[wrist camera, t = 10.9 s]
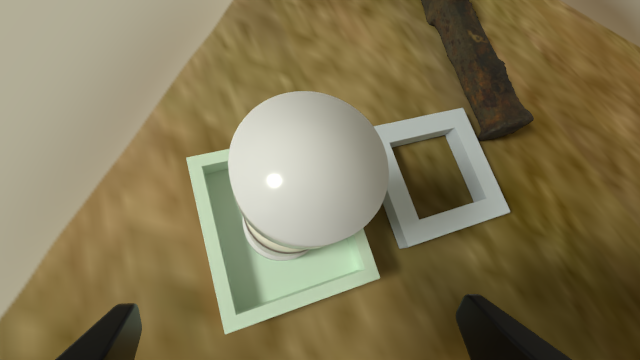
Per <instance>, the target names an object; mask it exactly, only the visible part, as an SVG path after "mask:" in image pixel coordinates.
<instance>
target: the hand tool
mask: <svg viewBox="0 0 640 360" xmlns="http://www.w3.org/2000/svg"><path fill="white" fill-rule="evenodd" d="M421 1H422V5H423V7H424V11H425V15H426V19H427V22H428V24H429V25H432V26H435V27H436V29H437V30H438V32H439V34H440V36H441V39H442V42H443V45H444V47H445V49H446V52H447V56H448V57H449V59H450V60H451V62H452V64H453V66H454V68H455V71H456V73H457V75H458V78H459V80H460V83H461V86H462V88H463V90H464V93H465V95H466V97H467V99H468V100H469V102H470V105H471V107H472V109H473V112H474V114H475V116H476V118H477V119H478V122H479V125H480V127H481V133H480V135H479V137H478V140H479V141H483V140H488V139H494V138H498V137H501V136H505V135H507V134H510V133H514V132H515V131H517V130H518V129H520V128H522V127H523V126H525V125H527V124H529V123H530V122H531V121H533V119H534V118H533V116H532V114H531V113H530V112H529V111H528V110H526V109H525V108H524V107H523V105H522V104H521V103H520V102H519V99H518V98H517V96H516V94H515V91H514V89H513V87H512V84H511V82H510V81H509V79H508V75H507V73H506V67H505V66H504V64H505V63H504V62H503V61H501V60H500V59H498V57H497V55H496V53H495V51H494V50H493V48H492V46H491V44H490V42H489V40H488V38H487V36H486V34H485V32H484V30H483V28H482V26H481V24H480V22H479V20H478V17H477V16H476V12H475V11H474V9H473V8H472V3H469V0H421Z"/></svg>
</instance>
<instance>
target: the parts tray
mask: <svg viewBox="0 0 640 360" xmlns="http://www.w3.org/2000/svg"><path fill="white" fill-rule="evenodd" d="M229 150H230V149H226V150H221V151H217V152H212V153H207V154H202V155H197V156H192V157H187V158H186V159H187V164H188V168H189V173H190V177H191V182H192V187H193V191H194V196H195V200H196V205H197V209H198V214H199V218H200V223H201V228H202V232H203V237H204V241H205V246H206V250H207V255H208V259H209V264H210V269H211V273H212V278H213V282H214V287H215V291H216V296H217V300H218V305H219V310H220V314H221V319H222V323H223V328H224V332H225V334H228V333H231V332H233V331H236V330H239V329H242V328H244V327H247V326H250V325H253V324H255V323H258V322H261V321H264V320H266V319H269V318H272V317H275V316H277V315H280V314H283V313H286V312H288V311H291V310H294V309H297V308H299V307H302V306H305V305H308V304H310V303H313V302H316V301H319V300H321V299H324V298H327V297H330V296H332V295H335V294H338V293H341V292H343V291H346V290H349V289H352V288H354V287H357V286H360V285H363V284H365V283H368V282H371V281H374V280H376V279H379V278H380V276H379V273H378V270H377V267H376V264H375V261H374V258H373V255H372V252H371V249H370V246H369V243H368V241H367V238H366V235H365V232H364V229H363V228H362V229H361V230H360V231H358V232H357V233H355V234H353V235H352V236H350V237H348V238H345V239H343V240H341V241H338V242H336V243H333V244H331V245H328V246H324V247H321V248H316V249H310V250H309V251H308V252H306V253H305V254H303V255H301V256H299V257H297V258H294V259H291V260H287V261H274V260H270V259H267V258H265V257H263V256H261V255H259V254H258V253H257V252H256V251H255V250H254V249H253V248H252V247H251V246H250V244H249V243H248V241H247V239H246V236H245V233H244V229H243V215H242V213H241V211H240V210H239V208H238V205H237V203H236V200H235V197H234V193H233V189H232V186H231V181H230V177H229V169H228V158H229Z"/></svg>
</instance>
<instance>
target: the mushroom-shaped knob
mask: <svg viewBox="0 0 640 360" xmlns="http://www.w3.org/2000/svg"><path fill="white" fill-rule="evenodd" d="M228 169H229V177H230V181H231V186H232V189H233V193H234V197H235V200H236V203H237V205H238V208H239V210H240V211H241V213H242V215H243V229H244V233H245V236H246V239H247V241H248V243H249V244H250V246H251V247H252V248H253V249H254V250H255V251H256V252H257V253H258V254H259V255H261V256H263V257H265V258H267V259H270V260H274V261H287V260H291V259H294V258H297V257H299V256H301V255H303V254H305V253H306V252H308V251H309V250H310V249H316V248H321V247H324V246H328V245H331V244H333V243H336V242H338V241H341V240H343V239H345V238H348V237H350V236H352V235H353V234H355V233H357V232H358V231H360V230H361V229H362V228H363V227H364V226H366V225H367V224H368V223H369V222H370V221H371V219H372V218H373V217H374V216H375V214H376V213H377V211H378V210H379V208H380V207H381V204H382V202H383V200H384V198H385V194H386V191H387V187H388V181H389V166H388V159H387V154H386V151H385V148H384V145H383V142H382V140H381V138H380V136H379V134H378V133H377V131H376V130H375V128H374V127H373V125H372V124H371V123H370V122H369V121H368V119H367V118H366V117H365V116H364V115H363V114H361V113H360V112H359V111H358V110H357V109H355V108H354V107H353V106H351V105H349V104H348V103H346V102H344V101H342V100H340V99H338V98H336V97H333V96H330V95H327V94H323V93H318V92H310V91H296V92H289V93H285V94H281V95H277V96H275V97H272V98H270V99H268V100H266V101H264V102H263V103H261V104H259V105H258V106H257V107H255V108H254V109H253V110H252V111H251V112H250V113H249V114H248V115H247V116H246V117H245V118H244V119H243V121H242V122H241V123H240V125H239V127H238V128H237V130H236V132H235V134H234V137H233V139H232V142H231V146H230V150H229V158H228Z"/></svg>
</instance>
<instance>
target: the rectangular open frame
mask: <svg viewBox="0 0 640 360" xmlns="http://www.w3.org/2000/svg"><path fill="white" fill-rule="evenodd" d="M374 128H375V130H376V131H377V133H378V134H379V136H380V138H381V140H382V142H383V145H384V148H385V151H386V154H387V159H388V166H389V181H388V187H387V191H386V194H385V198H384V200H383V205H384V208H385V210H386V213H387V216H388V219H389V221H390V224H391V227H392V230H393V233H394V235H395V238H396V241H397V244H398V246H399V249H400V248H406V247H410V246H413V245H416V244H419V243H422V242H425V241H428V240H431V239H433V238H436V237H439V236H442V235H445V234H448V233H451V232H454V231H457V230H460V229H463V228H466V227H469V226H471V225H474V224H477V223H480V222H483V221H486V220H489V219H492V218H495V217H498V216H501V215H504V214H507V213H509V212H510V210H509V208H508V205H507V203H506V201H505V199H504V197H503V194H502V192H501V190H500V188H499V186H498V183H497V181H496V179H495V177H494V175H493V172H492V170H491V168H490V166H489V164H488V162H487V159H486V157H485V155H484V153H483V151H482V148H481V146H480V144H479V142H478V140H477V137H476V135H475V133H474V131H473V129H472V127H471V124H470V122H469V120H468V118H467V116H466V113H465V111H464V109H463V108H459V109H454V110H450V111H445V112H440V113H436V114H431V115H426V116H421V117H417V118H412V119H407V120H403V121H398V122H393V123H388V124H384V125H379V126H374ZM443 135H445V136H446V138H447V141H448V143H449V145H450V148H451V150H452V152H453V155H454V157H455V159H456V162H457V164H458V166H459V169H460V171H461V173H462V175H463V178H464V180H465V182H466V185H467V187H468V189H469V192H470V194H471V196H472V199H473V201H474V203H471V204H467V205H464V206H461V207H458V208H455V209H452V210H449V211H445V212H442V213H439V214H436V215H433V216H430V217H427V218H423V219H420V220H419V218H418V216H417V213H416V211H415V208H414V205H413V203H412V200H411V198H410V195H409V192H408V190H407V187H406V185H405V182H404V179H403V177H402V174H401V172H400V169H399V166H398V164H397V161H396V159H395V156H394V153H393V151H392V147H396V146H400V145H405V144H409V143H413V142H417V141H421V140H426V139H430V138H434V137H438V136H443Z"/></svg>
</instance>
